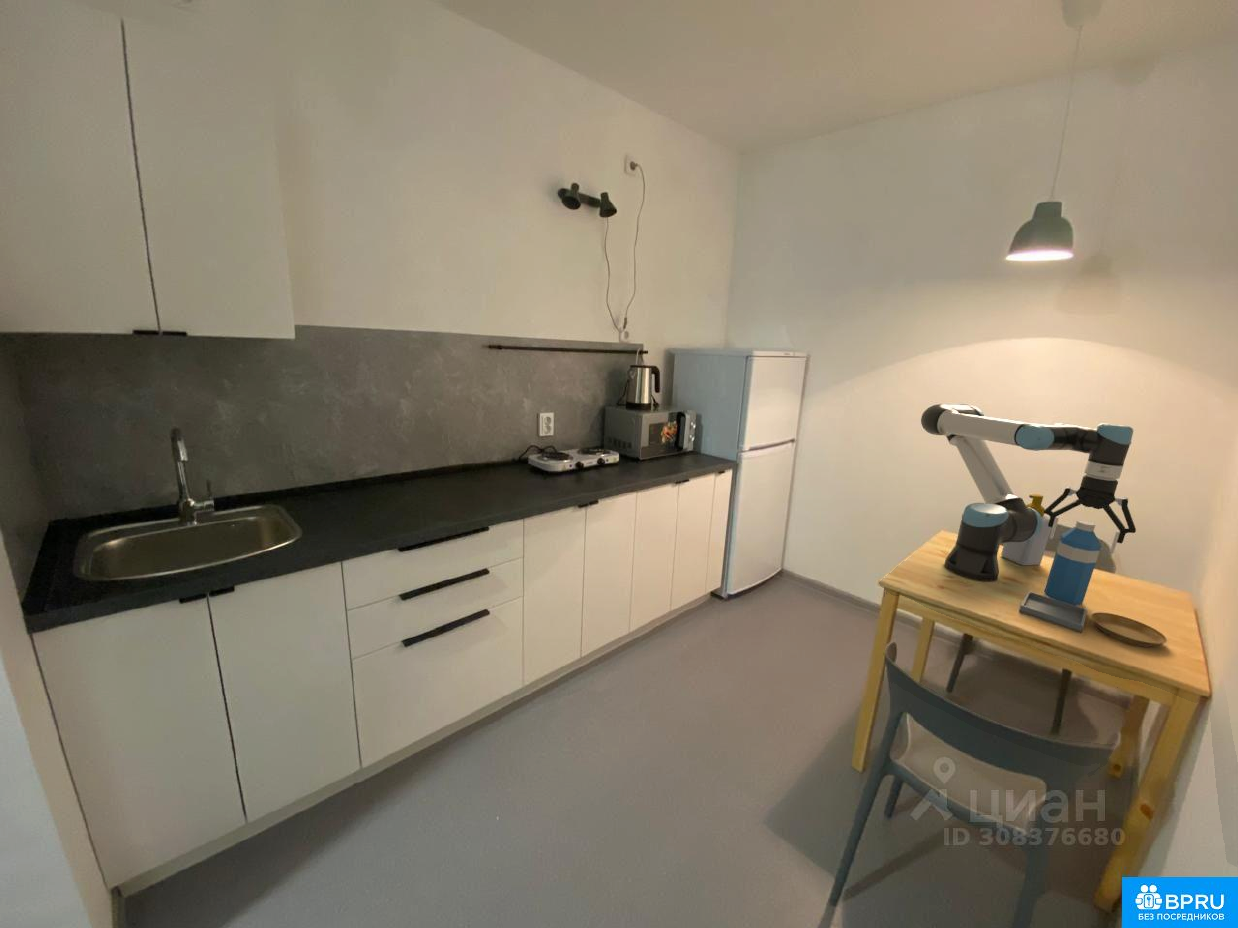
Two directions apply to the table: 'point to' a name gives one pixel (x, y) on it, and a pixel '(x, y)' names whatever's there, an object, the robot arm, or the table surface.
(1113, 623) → the plant saucer
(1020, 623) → the table surface
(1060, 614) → the tray
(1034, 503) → the soap bottle
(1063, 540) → the water bottle
